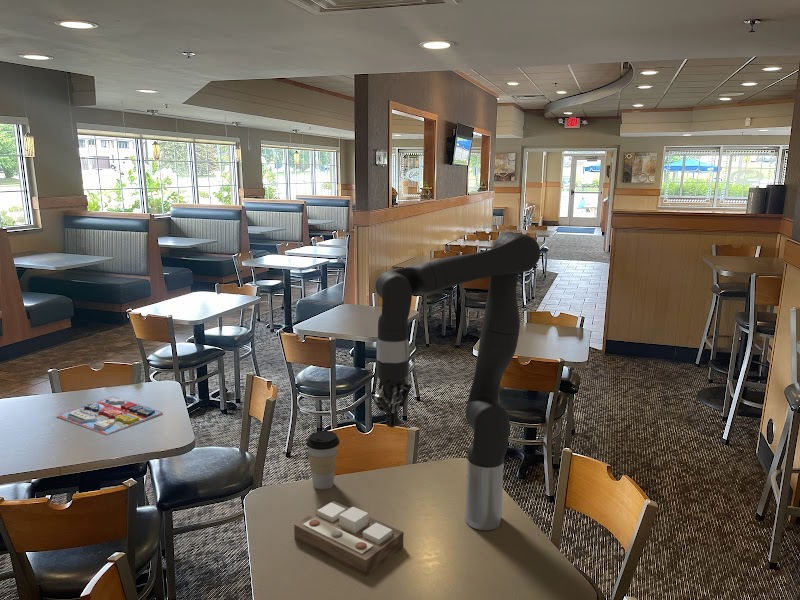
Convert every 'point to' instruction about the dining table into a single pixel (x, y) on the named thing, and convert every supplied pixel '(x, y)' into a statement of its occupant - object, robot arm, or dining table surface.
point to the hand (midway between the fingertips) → (391, 426)
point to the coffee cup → (323, 458)
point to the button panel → (347, 542)
